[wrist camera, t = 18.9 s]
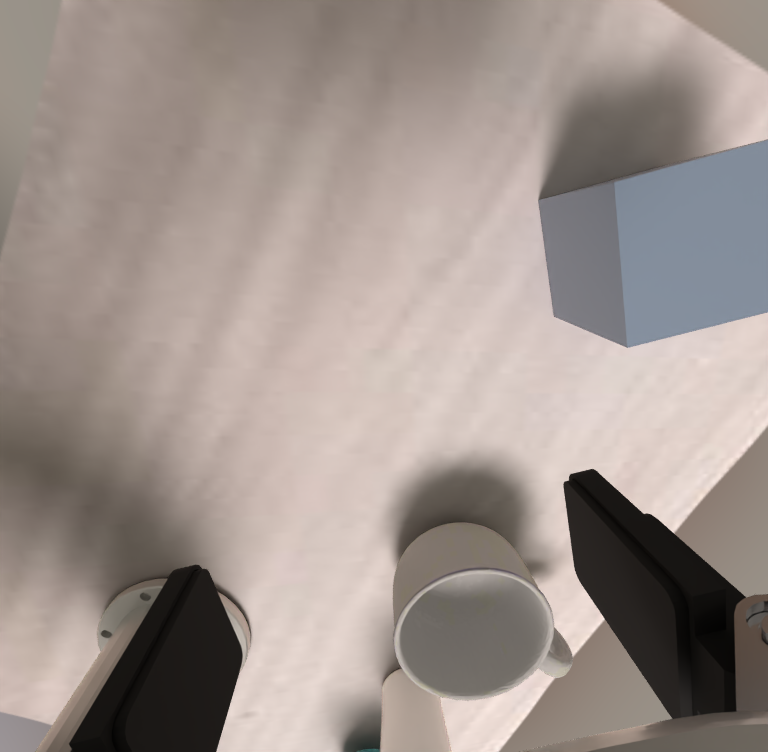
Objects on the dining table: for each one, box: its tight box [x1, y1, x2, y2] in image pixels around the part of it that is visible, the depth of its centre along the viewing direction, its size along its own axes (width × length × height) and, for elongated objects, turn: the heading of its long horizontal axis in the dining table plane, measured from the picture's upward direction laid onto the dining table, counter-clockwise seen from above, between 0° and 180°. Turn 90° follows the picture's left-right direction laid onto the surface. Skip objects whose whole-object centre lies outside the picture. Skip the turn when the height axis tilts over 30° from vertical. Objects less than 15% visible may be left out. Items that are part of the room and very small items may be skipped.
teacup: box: [393, 522, 573, 701], centre depth 32 cm, size 14×11×8 cm
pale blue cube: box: [538, 140, 768, 348], centre depth 23 cm, size 8×8×9 cm
